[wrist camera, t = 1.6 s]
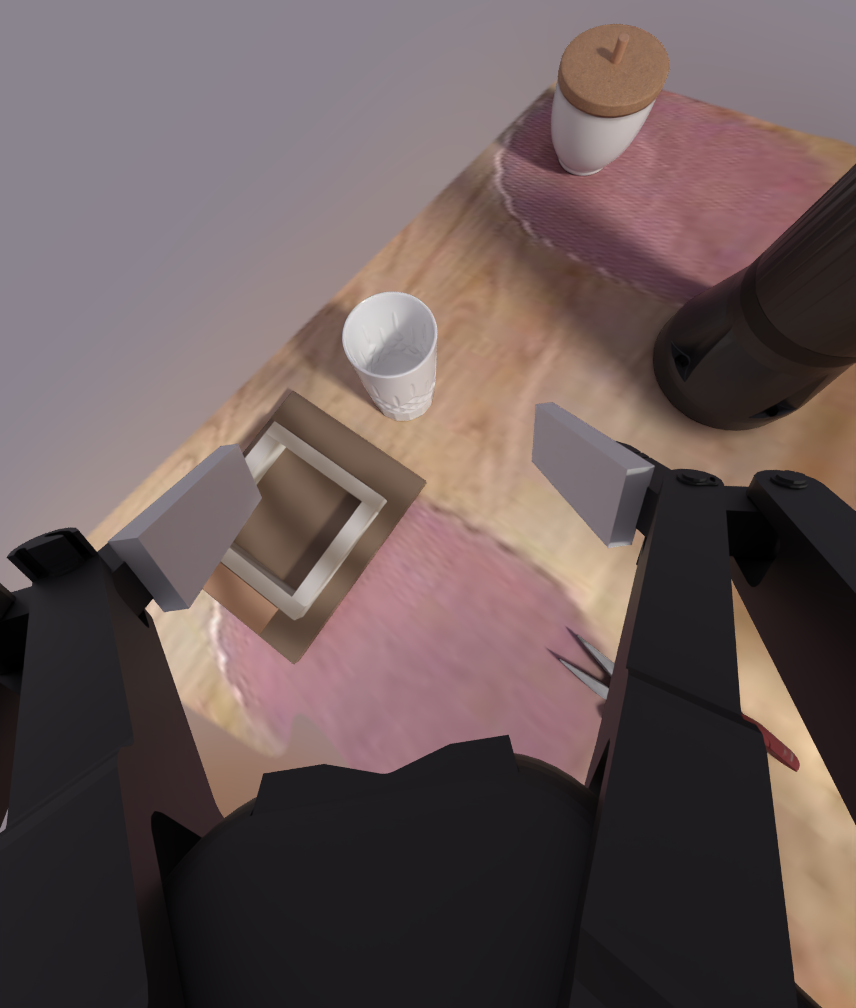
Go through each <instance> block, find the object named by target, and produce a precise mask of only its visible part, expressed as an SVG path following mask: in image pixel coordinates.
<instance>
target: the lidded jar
mask: <svg viewBox="0 0 856 1008" xmlns="http://www.w3.org/2000/svg"><path fill="white" fill-rule="evenodd" d="M668 72H669V58H668V54H667V52H666V50H665V48H664V46H663V45H662V44H661V42H660V41H659V40H658V39H657V38H655V37H654V36H653V35H652V34H650V33H648V32H646V31H644V30H642V29H640V28H637V27H634V26H629V25H623V24H610V25H602V26H598V27H595V28H592V29H589V30H587V31H585V32H583V33H581V34H580V35H578V36H577V37H576V38H575V39H574V40H573V41H572V42H571V43H570V44H569V45H568V46H567V48H566V49H565V51H564V53H563V55H562V59H561V62H560V66H559V71H558V80H557V84H556V89H555V93H554V98H553V105H552V113H551V137H552V143H553V146H554V149H555V152H556V154H557V156H558V160H559V163H560V164H561V166H562V167H563V168H564V169H565V170H566V171H568V172H569V173H571V174H574V175H578V176H588V175H592V174H595V173H597V172H599V171H600V170H602V169H603V168H604V167H605V166H607V165H608V164H610V163H611V162H613V161H614V160H616V159H617V158H618V157H619V156H620V155H621V154H622V153H623V152H624V151H625V150H626V149H627V147H628V146H629V145H630V144H631V143H632V141H633V140H634V138H635V137H636V135H637V134H638V132H639V131H640V129H641V127H642V126H643V124H644V122H645V120H646V119H647V117H648V115H649V113H650V111H651V109H652V106H653V104H654V102H655V100H656V98H657V96H658V95H659V93H660V92H661V90H662V88H663V85H664V83H665V81H666V79H667V76H668Z"/></svg>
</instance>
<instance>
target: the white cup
mask: <svg viewBox="0 0 856 1008" xmlns="http://www.w3.org/2000/svg"><path fill="white" fill-rule="evenodd" d="M342 343H343V348H344V351H345V353H346V355H347V357H348V359H349V361H350V362H351V364H352V366H353V368H354V369H355V371H356V373H357V375H358V376H359V378H360V380H361V382H362V384H363V385H364V387H365V389H366V390H367V392H368V393H369V395H370V397H371V398H372V399H373V401H374V402H375V404H376V406H377V407H378V408H379V409H380V410H381V412H382V413H383V414H384V415H385V416H387V417H389V418H391V419H394V420H396V421H411V420H413V419H415V418H417V417H419V416H422V415H423V414H424V413H425V412H426V410H427V409H428V408H429V407H430V406H431V404H432V400H433V396H434V390H435V379H436V361H437V325H436V321H435V318H434V316H433V314H432V312H431V311H430V309H429V308H428V307H427V306H426V305H425V304H424V303H423V302H422V301H421V300H419V299H418V298H416V297H414V296H412V295H409V294H406V293H402V292H383V293H379V294H375V295H373V296H370V297H368V298H366V299H365V300H363V301H362V302H360V303H359V304H358V305H357V306H356V307H355V308H354V309H353V310H352V311H351V313H350V314H349V316H348V317H347V319H346V321H345V324H344V327H343V332H342Z"/></svg>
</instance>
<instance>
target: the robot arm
mask: <svg viewBox="0 0 856 1008" xmlns="http://www.w3.org/2000/svg"><path fill="white" fill-rule="evenodd" d="M653 361H654V370H655V374H656V377H657V380H658V382H659V385H660V387H661V389H662V390H663V392H664V393H665V395H666V396H667V398H668V399H669V400H670V401H671V402H672V403H673V404H674V405H675V406H676V407H677V408H678V409H679V410H680V411H681V412H683V413H684V414H685V415H687V416H689V417H690V418H692V419H694V420H696V421H697V422H700V423H702V424H705V425H707V426H710V427H714V428H718V429H724V430H747V429H753V428H757V427H760V426H763V425H766V424H768V423H770V422H773V421H775V420H778V419H780V418H782V417H785V416H787V415H789V414H791V413H793V412H794V411H796V410H798V409H799V408H801V407H802V406H803V405H805V404H806V403H807V402H808V401H809V400H811V399H812V398H813V397H814V396H815V395H817V394H818V393H819V392H820V391H821V390H823V389H824V388H825V387H826V386H827V385H829V384H830V383H831V382H832V381H833V380H835V379H836V378H837V377H838V376H839V375H841V374H842V373H843V372H844V371H845V370H847V369H848V368H849V367H850V366H851V365H853V364H855V363H856V164H855V165H854V166H853V167H852V168H851V169H850V170H849V171H848V172H847V173H846V174H845V175H844V176H843V177H842V178H841V179H839V180H838V181H837V182H836V183H835V184H834V185H833V186H832V187H831V188H830V189H829V190H828V191H827V192H826V193H825V194H824V195H823V196H822V197H821V198H820V199H819V200H818V201H817V202H816V203H815V204H814V205H812V206H811V207H810V208H809V209H808V210H807V211H806V212H805V213H804V214H803V215H802V216H801V217H800V218H799V219H798V220H797V221H796V222H795V223H794V224H793V225H792V226H791V227H790V228H788V229H787V230H786V231H785V232H784V233H783V234H782V235H781V236H780V237H779V238H778V239H777V240H776V241H775V242H774V243H773V244H772V245H771V246H770V247H769V248H768V249H767V250H766V251H765V252H763V253H762V254H761V255H760V256H759V257H758V258H757V259H756V260H755V261H754V262H753V263H752V264H751V265H749V266H748V267H746V268H744V269H742V270H741V271H739V272H737V273H735V274H734V275H732V276H730V277H729V278H727V279H725V280H723V281H722V282H720V283H718V284H716V285H715V286H713V287H711V288H710V289H708V290H706V291H704V292H703V293H701V294H699V295H697V296H696V297H694V298H693V299H691V300H690V301H689V302H687V303H686V304H685V305H684V306H683V307H682V308H681V309H680V310H679V311H678V312H677V313H676V314H675V315H674V316H673V317H672V318H671V319H670V320H669V321H668V322H667V324H666V325H665V326H664V327H663V329H662V330H661V332H660V334H659V336H658V338H657V341H656V344H655V348H654V357H653ZM532 462H533V463H534V464H535V465H536V467H537V468H538V469H539V470H540V471H541V472H542V473H543V475H544V476H545V477H546V478H547V479H548V480H549V481H550V483H551V484H552V485H553V486H554V487H555V488H556V489H557V490H558V492H559V493H560V494H561V495H562V496H563V497H564V498H565V500H566V501H567V502H568V503H569V504H570V505H571V506H572V508H573V509H574V510H575V511H576V512H577V513H578V514H579V515H580V517H581V518H582V519H583V520H584V521H585V522H586V523H587V525H588V526H589V527H590V528H591V529H592V530H593V531H594V533H595V534H596V535H597V536H598V537H599V538H600V539H601V540H602V542H603V543H604V544H605V545H606V546H607V547H608V548H611V547H618V546H625V545H632V541H633V538H634V535H635V531H636V528H637V529H638V530H639V531H640V532H641V533H642V534H643V535H644V536H645V538H644V541H643V544H642V547H641V551H640V554H639V557H638V560H637V563H636V565H637V569H636V574H635V578H634V582H633V587H632V591H631V595H630V600H629V604H628V608H627V613H626V617H625V621H624V626H623V630H622V634H621V638H620V643H619V647H618V651H617V656H616V660H615V664H614V669H613V673H612V677H611V682H610V686H609V690H608V694H607V699H606V703H605V707H604V712H603V716H602V720H601V725H600V729H599V733H598V738H597V742H596V746H595V749H594V753H593V757H592V760H591V763H590V767H589V770H588V774H587V778H586V782H585V786H584V785H583V784H581V783H580V782H579V781H577V780H576V779H575V778H573V777H572V776H570V775H569V774H567V773H565V772H564V771H562V770H560V769H559V768H557V767H555V766H553V765H551V764H548V763H546V762H544V761H542V760H539V759H536V758H533V757H529V756H526V755H522V754H516V753H513V749H512V745H511V742H510V738H509V735H504V736H498V737H492V738H485V739H479V740H473V741H466V742H460V743H454V744H449V745H447V746H445V747H443V748H441V749H439V750H437V751H435V752H433V753H430V754H428V755H426V756H424V757H422V758H420V759H418V760H416V761H414V762H412V763H410V764H408V765H406V766H404V767H402V768H400V769H398V770H396V771H394V772H391V773H388V774H379V773H374V772H368V771H362V770H356V769H350V768H344V767H338V766H333V765H327V764H321V765H315V766H309V767H303V768H296V769H290V770H284V771H277V772H271V773H264V774H263V777H262V780H261V784H260V788H259V791H258V795H257V797H256V798H254V799H252V800H250V801H249V802H247V803H246V804H244V805H242V806H241V807H239V808H237V809H236V810H235V811H233V812H232V813H231V814H229V815H228V816H227V817H225V818H224V817H223V816H222V814H221V813H220V811H219V809H218V807H217V805H216V803H215V800H214V798H213V795H212V792H211V789H210V786H209V783H208V780H207V777H206V774H205V771H204V768H203V766H202V762H201V759H200V756H199V754H198V751H197V748H196V745H195V742H194V739H193V736H192V733H191V730H190V727H189V725H188V722H187V718H186V715H185V713H184V710H183V707H182V704H181V701H180V698H179V695H178V692H177V689H176V686H175V683H174V680H173V677H172V674H171V671H170V669H169V666H168V663H167V660H166V657H165V654H164V651H163V648H162V645H161V642H160V639H159V636H158V633H157V630H156V628H155V625H154V622H153V619H152V617H151V615H150V614H149V613H148V612H147V611H146V610H145V608H146V606H147V605H148V604H149V603H150V602H151V600H152V599H154V600H155V602H156V603H157V604H158V605H159V607H160V608H161V609H162V610H163V611H164V612H168V611H175V610H182V609H189V608H190V607H191V605H192V604H193V602H194V600H195V599H196V597H197V596H198V594H199V593H200V591H201V590H202V588H203V587H204V585H205V584H206V582H207V581H208V579H209V578H210V576H211V575H212V573H213V572H214V570H215V569H216V567H217V566H218V564H219V563H220V561H221V559H222V558H223V556H224V555H225V553H226V552H227V550H228V549H229V547H230V546H231V544H232V543H233V541H234V540H235V538H236V537H237V535H238V534H239V532H240V531H241V529H242V528H243V526H244V525H245V523H246V521H247V520H248V518H249V517H250V515H251V514H252V512H253V511H254V509H255V508H256V506H257V505H258V503H259V502H260V500H261V499H262V497H261V494H260V492H259V490H258V488H257V485H256V483H255V481H254V479H253V476H252V474H251V472H250V469H249V467H248V465H247V463H246V460H245V458H244V456H243V454H242V451H241V449H240V447H239V444H233V445H225V446H220V447H219V448H218V449H216V450H215V451H214V452H213V453H212V454H211V455H209V456H208V457H207V458H206V459H205V460H203V461H202V462H201V463H200V464H199V465H198V466H196V467H195V468H194V469H193V470H192V471H190V472H189V473H188V474H187V475H186V476H185V477H183V478H182V479H181V480H180V481H179V482H177V483H176V484H175V485H174V486H173V487H172V488H170V489H169V490H168V491H167V492H166V493H164V494H163V495H162V496H161V497H160V498H159V499H157V500H156V501H155V502H154V503H153V504H151V505H150V506H149V507H148V508H147V509H146V510H144V511H143V512H142V513H141V514H140V515H138V516H137V517H136V518H135V519H134V520H133V521H131V522H130V523H129V524H128V525H127V526H125V527H124V528H123V529H122V530H121V531H120V532H118V533H117V534H116V535H115V536H114V537H112V538H111V539H110V540H109V541H108V543H107V544H106V545H105V546H104V547H102V548H101V549H100V550H99V551H98V552H96V550H95V549H94V548H93V547H92V546H91V544H90V543H89V542H88V541H87V540H86V538H85V537H84V536H83V535H82V534H81V533H80V531H79V530H78V529H76V528H64V529H58V530H55V531H52V532H49V533H45V534H43V535H40V536H38V537H36V538H33V539H31V540H29V541H27V542H25V543H24V544H22V545H20V546H18V547H17V548H16V549H14V550H13V551H11V553H10V554H9V555H8V556H7V558H8V559H9V560H10V561H11V562H12V563H13V564H14V565H15V566H16V567H17V568H18V569H19V570H20V571H21V572H22V573H23V574H25V575H26V576H27V577H28V578H29V579H30V580H31V581H32V586H31V587H28V588H24V589H21V590H18V591H14V592H10V591H9V590H7V589H6V588H5V587H4V586H3V585H2V584H1V583H0V827H1V825H2V822H3V820H4V817H5V815H6V812H7V810H8V817H7V825H6V829H5V830H4V831H2V832H1V833H0V1008H822V1007H821V1006H819V1005H818V1004H817V1003H816V1002H815V1001H814V1000H813V999H812V998H811V997H810V996H809V995H808V994H807V993H806V992H805V991H804V990H802V989H801V988H800V987H799V986H798V985H797V984H796V983H795V981H794V973H793V964H792V956H791V948H790V939H789V931H788V923H787V915H786V906H785V898H784V890H783V882H782V873H781V865H780V857H779V849H778V840H777V832H776V824H775V815H774V807H773V799H772V791H771V782H770V774H769V766H768V758H767V750H766V746H765V742H764V737H763V734H762V732H761V731H760V729H759V728H758V726H757V725H756V724H754V723H751V722H749V721H747V720H745V719H744V718H743V717H742V713H741V706H740V693H739V679H738V666H737V652H736V639H735V625H734V612H733V598H732V585H731V579H732V581H733V583H734V585H735V587H736V589H737V591H738V593H739V595H740V597H741V599H742V601H743V603H744V605H745V607H746V609H747V611H748V613H749V615H750V617H751V619H752V621H753V623H754V625H755V627H756V629H757V631H758V633H759V635H760V637H761V639H762V641H763V643H764V645H765V647H766V648H767V650H768V652H769V654H770V656H771V658H772V660H773V662H774V664H775V666H776V668H777V670H778V672H779V674H780V676H781V678H782V680H783V682H784V684H785V686H786V688H787V690H788V692H789V694H790V696H791V698H792V700H793V702H794V704H795V706H796V708H797V710H798V712H799V714H800V716H801V718H802V720H803V722H804V724H805V726H806V728H807V730H808V732H809V734H810V736H811V738H812V740H813V742H814V744H815V745H816V747H817V749H818V751H819V753H820V755H821V757H822V759H823V761H824V763H825V765H826V767H827V769H828V771H829V773H830V775H831V777H832V779H833V781H834V783H835V785H836V787H837V789H838V791H839V793H840V795H841V797H842V799H843V801H844V803H845V805H846V807H847V809H848V811H849V813H850V815H851V817H852V819H853V821H854V823H855V825H856V511H855V510H853V509H852V508H851V507H850V506H849V505H848V504H846V503H845V502H844V501H843V500H842V499H840V498H839V497H838V496H837V495H836V494H835V493H833V492H832V491H831V490H830V489H829V488H827V487H826V486H825V485H824V484H822V483H821V482H819V481H817V480H816V479H814V478H811V477H808V476H805V474H802V473H799V472H796V473H795V472H794V471H789V470H785V471H780V470H764V471H760V472H757V473H756V474H755V475H754V477H753V479H752V481H751V483H750V485H749V487H739V486H724V484H723V482H722V480H721V479H719V478H718V477H716V476H714V475H712V474H709V473H706V472H703V471H698V470H692V469H675V470H670V469H669V468H667V467H665V466H664V465H662V464H660V463H659V462H657V461H655V460H654V459H652V458H649V456H647V455H645V454H644V453H641V451H639V450H637V449H636V448H634V447H632V446H630V445H627V444H624V443H621V442H618V441H614V440H612V439H611V438H609V437H608V436H606V435H604V434H603V433H601V432H600V431H598V430H596V429H595V428H593V427H592V426H590V425H588V424H587V423H585V422H584V421H582V420H580V419H579V418H577V417H576V416H574V415H572V414H571V413H569V412H568V411H566V410H564V409H563V408H561V407H560V406H558V405H556V404H555V403H553V402H551V403H543V404H536V409H535V423H534V436H533V450H532Z"/></svg>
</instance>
